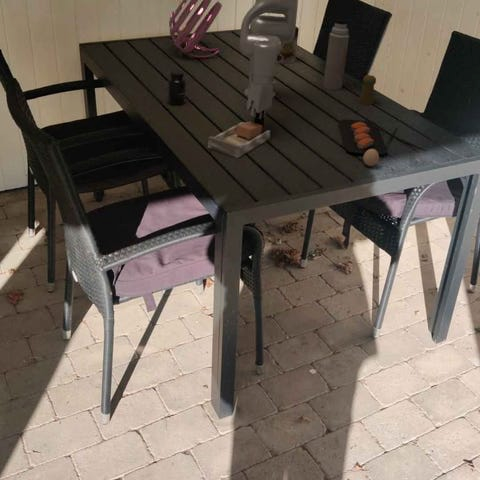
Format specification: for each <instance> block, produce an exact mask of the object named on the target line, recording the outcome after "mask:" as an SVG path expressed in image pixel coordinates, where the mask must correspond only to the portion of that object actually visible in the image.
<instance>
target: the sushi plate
mask: <svg viewBox="0 0 480 480" xmlns="http://www.w3.org/2000/svg"><path fill="white" fill-rule="evenodd" d="M338 122H339V123H338V126H339V129H340V133H341V138H342V142H343V146H344V149H345V150H346V151H347V152H348V153H351V154H357V155H364V154H365V153H366V151H367V150H369V149H374V150H376V151H377V152H378V155H379V156H383V155H384V156H385V155H386V154H387V153H388V152H387V151H388V150H387V148H386V147H387V145H388V144H389V143H390V140H391V139H392V138H395V139H397V140H399V141H401V142H402V143H405V144H407V145H409V146H412V147H413V148H416V149H419V150H423V151H424V152H427V149H424V148H422V147H420V146H418V145H416V144H413V143H411V142H408V141H406V140H404V139H402V138H400V137H397V136H395V134H396V132H397V130H398V127H396V128H395V129H394V130H393V133H392V134H391V133H389V132H387V131H384V130H383V129H381V128H379V125H378V124H377V122H374V121H370V120H360V119H357V120H356V119H340V120H339V121H338ZM381 132H382V133H384V134H386V135H389V136H390V137H389V139H388V140H387V142H386V144H385V142H384V139H383V136H382V133H381Z"/></svg>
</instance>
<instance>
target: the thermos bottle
mask: <svg viewBox="0 0 480 480" xmlns="http://www.w3.org/2000/svg"><path fill="white" fill-rule="evenodd" d="M347 27H348V20H346V19H339V18H336V19H335V21H334V26H332V29H331V32H329V35H328V36H329V37H328V43H327V45H328V46H327V52H326V53H327V54H326V62H325V70H324V75H323V84H322V86H323V88H325V89H327V90H331V91H335V90H336V91H338V90H341V89H342V87H343V81H344V73H345V67H346V62H347V60H346V59H347V54H348V53H347V52H348V47H349V39H350V35H349V28H347Z"/></svg>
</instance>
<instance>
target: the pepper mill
mask: <svg viewBox="0 0 480 480" xmlns="http://www.w3.org/2000/svg"><path fill="white" fill-rule="evenodd" d="M362 83H363V85H362V87H361V88H362V89H361V91H360V95H359V99H358V101H357V102H358V104H361V105H362V106H371V105H373V104H374V94H375V92H374V91H375V85H376V83H377V77H375V76H374V75H372V74H371V75H370V74H367V75H364V76H363V79H362Z"/></svg>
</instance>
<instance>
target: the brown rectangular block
mask: <svg viewBox="0 0 480 480" xmlns="http://www.w3.org/2000/svg"><path fill="white" fill-rule="evenodd" d="M238 124H239V123H238ZM236 125H237V124H236ZM262 131H263V128H262V125H260V124H256V123H254V121H253V122H252V121H246V122H244V123H242V124H239V125H237V128H236V134H237V136H238V137H241V136H243V137H246V139H247V140H251V139H252V137H254V136H256V137H257V136H259V135H260V134H262Z"/></svg>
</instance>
